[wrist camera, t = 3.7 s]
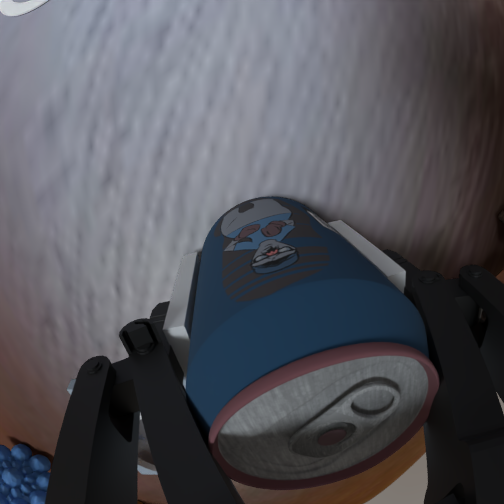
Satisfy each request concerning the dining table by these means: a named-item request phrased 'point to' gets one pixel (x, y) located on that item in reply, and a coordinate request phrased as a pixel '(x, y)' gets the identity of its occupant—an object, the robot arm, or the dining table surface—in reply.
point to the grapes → (23, 476)
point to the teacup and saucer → (19, 7)
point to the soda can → (301, 351)
